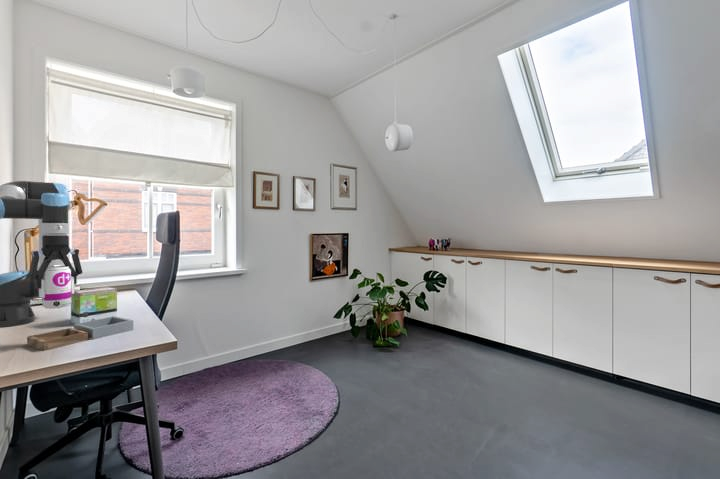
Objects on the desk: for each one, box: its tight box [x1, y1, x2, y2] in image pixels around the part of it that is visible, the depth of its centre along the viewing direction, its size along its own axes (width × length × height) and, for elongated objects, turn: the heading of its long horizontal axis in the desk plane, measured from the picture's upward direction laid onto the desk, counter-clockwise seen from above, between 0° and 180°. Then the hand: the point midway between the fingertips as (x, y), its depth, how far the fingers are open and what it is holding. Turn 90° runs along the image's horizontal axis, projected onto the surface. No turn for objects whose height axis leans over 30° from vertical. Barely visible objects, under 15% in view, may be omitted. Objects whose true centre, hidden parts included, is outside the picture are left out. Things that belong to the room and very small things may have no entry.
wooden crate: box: [26, 327, 89, 351], centre depth 131 cm, size 13×13×3 cm
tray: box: [73, 316, 134, 340], centre depth 145 cm, size 15×15×4 cm
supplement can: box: [41, 266, 71, 310], centre depth 131 cm, size 8×8×15 cm
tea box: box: [70, 286, 118, 325], centre depth 163 cm, size 15×10×15 cm, turn 148°
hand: (57, 295), depth 131 cm, fingers closed on supplement can, 8 cm apart
